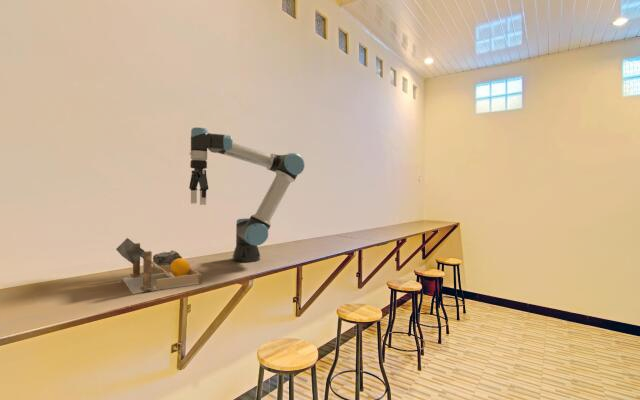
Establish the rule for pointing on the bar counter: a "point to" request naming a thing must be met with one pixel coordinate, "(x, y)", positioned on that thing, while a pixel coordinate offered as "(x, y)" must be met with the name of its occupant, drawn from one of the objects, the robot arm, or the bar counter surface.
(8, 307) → the bar counter surface
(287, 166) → the robot arm
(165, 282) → the tray
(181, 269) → the orange
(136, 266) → the gallows posts
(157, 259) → the rock
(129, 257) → the trapdoor
